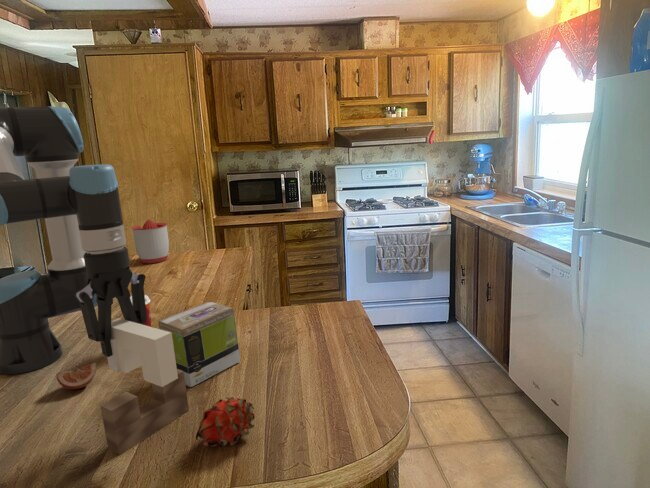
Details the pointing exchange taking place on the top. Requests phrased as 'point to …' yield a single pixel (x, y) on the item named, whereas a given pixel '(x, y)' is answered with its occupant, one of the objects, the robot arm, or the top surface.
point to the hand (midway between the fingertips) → (124, 364)
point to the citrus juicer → (151, 242)
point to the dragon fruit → (226, 422)
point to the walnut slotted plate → (142, 414)
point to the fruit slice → (77, 377)
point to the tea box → (203, 340)
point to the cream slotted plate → (145, 351)
